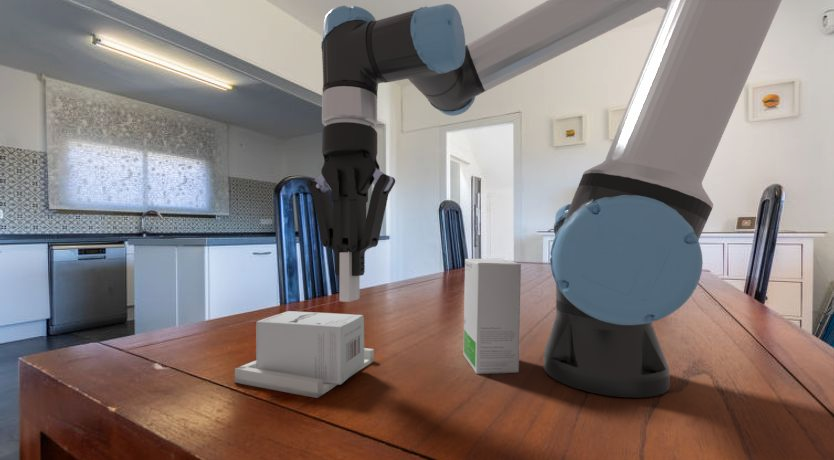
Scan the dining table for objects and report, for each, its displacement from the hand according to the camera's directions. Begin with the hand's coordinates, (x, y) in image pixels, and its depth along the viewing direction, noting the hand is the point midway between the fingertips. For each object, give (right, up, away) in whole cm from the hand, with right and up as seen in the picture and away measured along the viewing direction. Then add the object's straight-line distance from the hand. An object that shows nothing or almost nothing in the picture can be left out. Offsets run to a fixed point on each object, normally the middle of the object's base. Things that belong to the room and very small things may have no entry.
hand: (349, 299), depth 49 cm
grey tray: (-6, -11, +2) cm, 12 cm away
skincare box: (+20, -11, +5) cm, 23 cm away
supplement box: (+1, -6, -1) cm, 6 cm away
